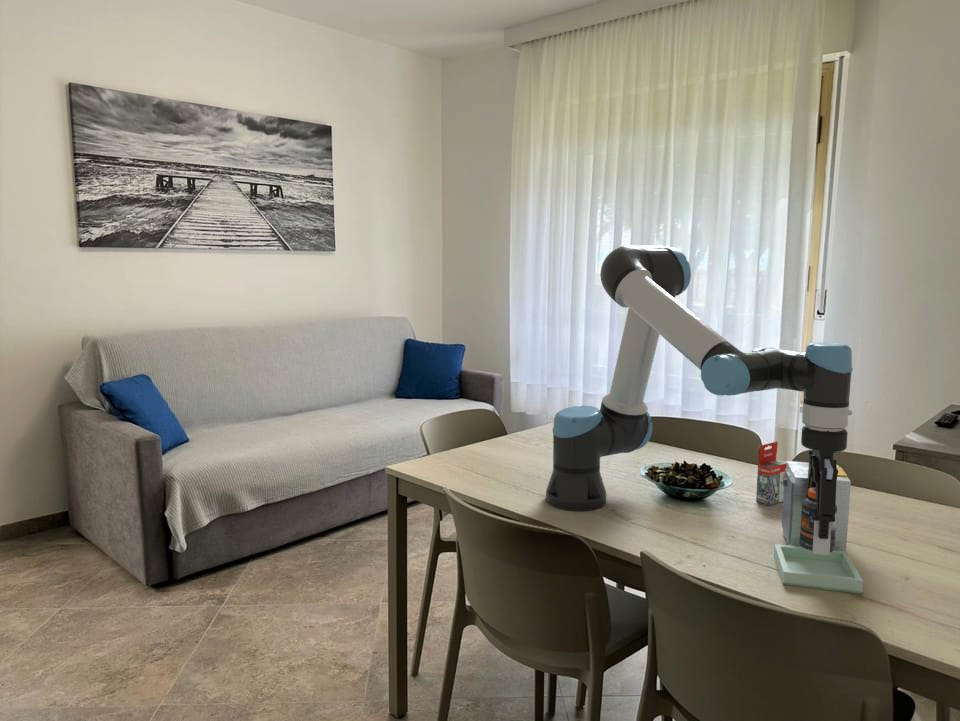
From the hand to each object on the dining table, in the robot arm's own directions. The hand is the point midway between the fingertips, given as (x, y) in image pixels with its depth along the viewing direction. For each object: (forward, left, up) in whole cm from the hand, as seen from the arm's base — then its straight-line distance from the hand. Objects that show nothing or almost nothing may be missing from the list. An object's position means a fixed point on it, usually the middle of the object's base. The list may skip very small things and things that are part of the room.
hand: (817, 546), depth 125 cm
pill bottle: (0, 0, 0) cm, 1 cm away
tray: (0, 0, -5) cm, 5 cm away
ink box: (-3, +41, -6) cm, 42 cm away
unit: (+2, +15, -5) cm, 16 cm away
